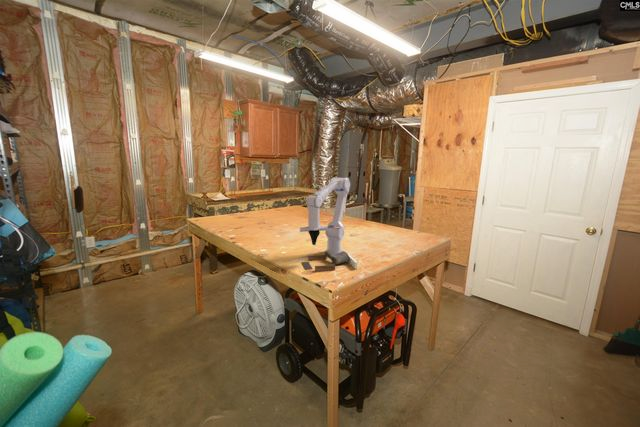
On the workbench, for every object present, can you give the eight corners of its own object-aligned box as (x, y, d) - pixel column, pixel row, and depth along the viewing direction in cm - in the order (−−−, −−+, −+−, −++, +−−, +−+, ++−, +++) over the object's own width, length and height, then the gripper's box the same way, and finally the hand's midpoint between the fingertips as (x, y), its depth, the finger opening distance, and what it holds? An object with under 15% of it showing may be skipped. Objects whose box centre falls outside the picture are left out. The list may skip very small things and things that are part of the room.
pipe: (323, 258, 153) (334, 254, 158) (337, 268, 143) (349, 264, 148) (323, 248, 151) (335, 244, 155) (338, 258, 141) (350, 254, 146)
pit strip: (301, 262, 149) (301, 262, 148) (308, 262, 149) (308, 261, 149) (305, 269, 139) (305, 269, 139) (312, 269, 140) (312, 268, 140)
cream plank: (342, 256, 159) (342, 250, 158) (344, 256, 159) (344, 250, 159) (355, 269, 140) (355, 262, 139) (357, 269, 140) (357, 262, 140)
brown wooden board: (308, 259, 153) (308, 255, 152) (326, 258, 155) (326, 254, 155) (315, 271, 137) (315, 266, 136) (335, 269, 139) (335, 265, 139)
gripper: (301, 221, 139) (301, 247, 142) (329, 219, 143) (329, 245, 145) (299, 218, 146) (299, 243, 148) (326, 217, 149) (325, 241, 152)
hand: (313, 244), depth 147 cm, fingers closed
